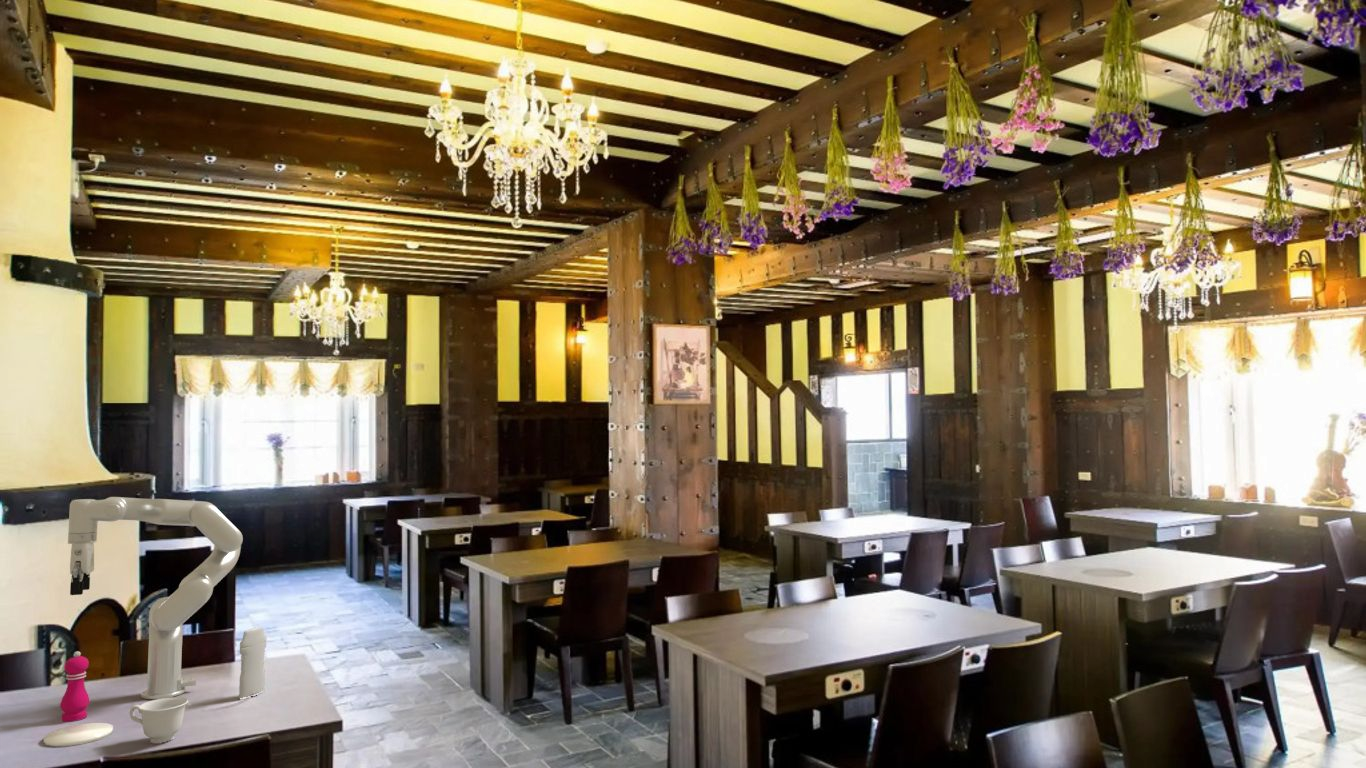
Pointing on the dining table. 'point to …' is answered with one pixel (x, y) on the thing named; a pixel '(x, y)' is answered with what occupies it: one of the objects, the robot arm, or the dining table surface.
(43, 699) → the dining table surface
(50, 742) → the plate
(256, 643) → the tall pale column
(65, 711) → the pepper mill
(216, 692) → the dining table surface
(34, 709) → the dining table surface
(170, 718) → the teacup
